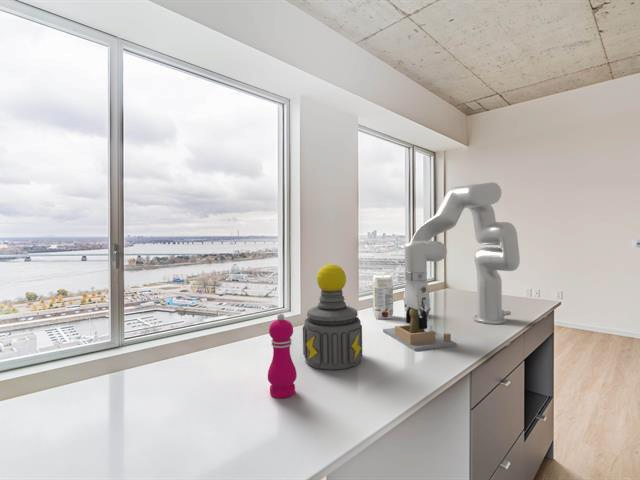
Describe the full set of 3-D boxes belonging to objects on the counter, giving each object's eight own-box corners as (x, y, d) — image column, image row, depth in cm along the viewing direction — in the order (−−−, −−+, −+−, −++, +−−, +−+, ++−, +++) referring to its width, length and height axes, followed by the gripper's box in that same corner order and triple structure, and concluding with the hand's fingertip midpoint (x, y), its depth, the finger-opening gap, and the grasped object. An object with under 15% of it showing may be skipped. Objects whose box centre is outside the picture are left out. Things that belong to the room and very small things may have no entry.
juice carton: (394, 319, 163) (393, 276, 162) (374, 319, 163) (374, 277, 162) (391, 315, 170) (390, 274, 170) (372, 315, 170) (372, 275, 170)
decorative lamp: (336, 377, 101) (334, 268, 100) (290, 361, 113) (288, 265, 112) (375, 358, 114) (373, 263, 114) (330, 346, 127) (328, 260, 126)
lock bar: (418, 326, 147) (418, 315, 146) (433, 332, 137) (432, 321, 137) (415, 326, 146) (415, 316, 146) (429, 333, 137) (429, 322, 136)
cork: (427, 336, 132) (426, 306, 132) (424, 341, 127) (424, 310, 126) (410, 335, 135) (409, 305, 134) (406, 339, 129) (406, 309, 129)
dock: (419, 327, 148) (419, 316, 148) (456, 345, 125) (456, 332, 125) (383, 331, 144) (382, 320, 143) (414, 351, 120) (414, 337, 120)
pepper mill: (285, 402, 86) (283, 318, 86) (262, 395, 90) (260, 315, 90) (302, 390, 93) (300, 312, 92) (280, 384, 96) (278, 309, 96)
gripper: (439, 279, 123) (439, 331, 123) (412, 273, 139) (413, 319, 140) (419, 280, 121) (420, 333, 121) (394, 274, 137) (395, 320, 138)
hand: (416, 325), depth 131 cm, fingers open, 7 cm apart
